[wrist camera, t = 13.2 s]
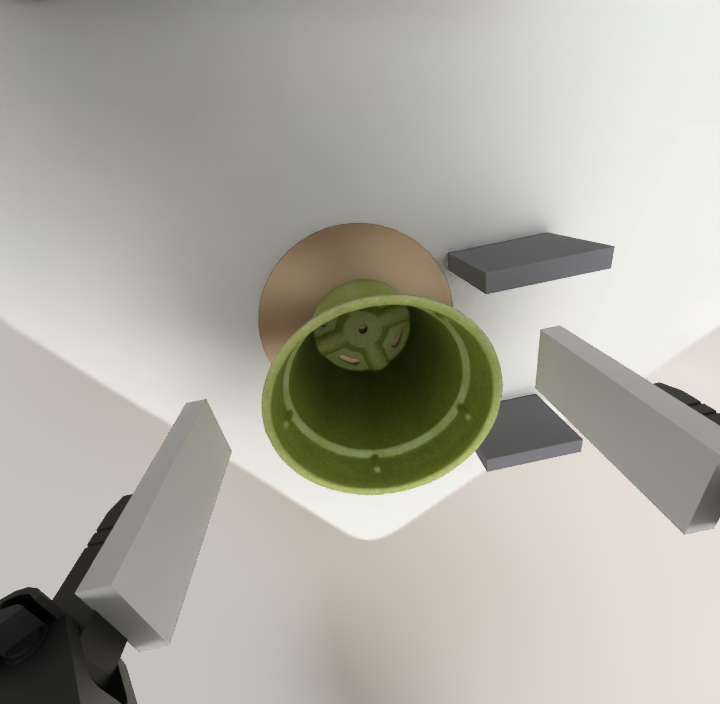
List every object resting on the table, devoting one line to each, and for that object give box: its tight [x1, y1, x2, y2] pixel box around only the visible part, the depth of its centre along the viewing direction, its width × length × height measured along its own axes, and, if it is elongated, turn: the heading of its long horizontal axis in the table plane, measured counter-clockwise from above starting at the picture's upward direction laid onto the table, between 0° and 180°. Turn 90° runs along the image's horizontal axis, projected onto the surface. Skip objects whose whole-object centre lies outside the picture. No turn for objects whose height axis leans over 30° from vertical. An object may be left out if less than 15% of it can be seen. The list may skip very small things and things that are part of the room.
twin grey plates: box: [448, 233, 614, 472], centre depth 20 cm, size 13×6×5 cm, turn 10°
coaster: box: [259, 224, 453, 364], centre depth 21 cm, size 12×12×1 cm
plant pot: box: [262, 279, 502, 495], centre depth 17 cm, size 9×9×9 cm
